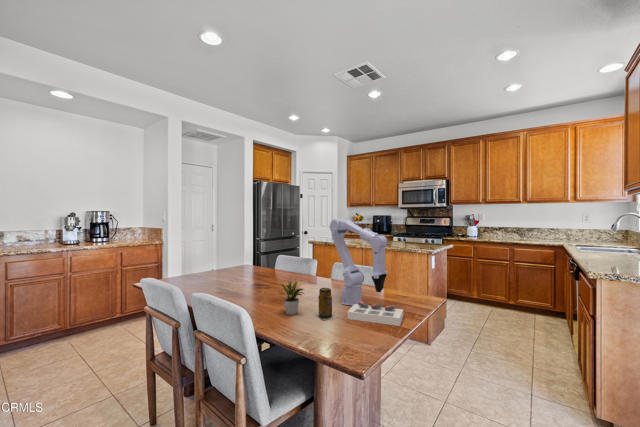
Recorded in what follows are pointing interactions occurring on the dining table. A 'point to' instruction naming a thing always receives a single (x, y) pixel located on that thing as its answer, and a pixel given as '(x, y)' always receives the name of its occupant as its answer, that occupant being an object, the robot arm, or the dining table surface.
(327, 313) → the condiment
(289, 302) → the house plant
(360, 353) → the dining table surface
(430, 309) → the dining table surface
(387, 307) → the rocker right
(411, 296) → the dining table surface
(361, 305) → the rocker left
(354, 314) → the power strip
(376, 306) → the rocker middle
